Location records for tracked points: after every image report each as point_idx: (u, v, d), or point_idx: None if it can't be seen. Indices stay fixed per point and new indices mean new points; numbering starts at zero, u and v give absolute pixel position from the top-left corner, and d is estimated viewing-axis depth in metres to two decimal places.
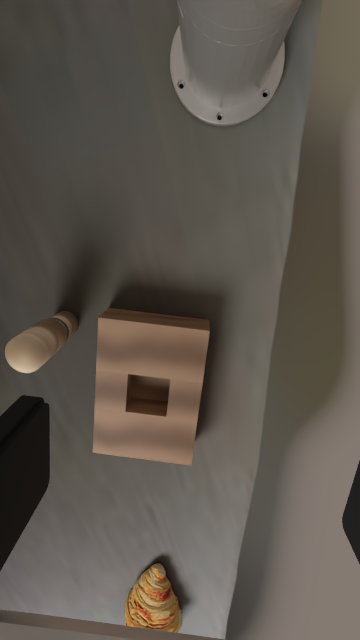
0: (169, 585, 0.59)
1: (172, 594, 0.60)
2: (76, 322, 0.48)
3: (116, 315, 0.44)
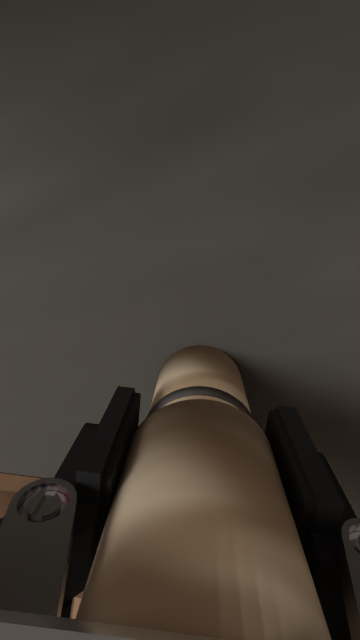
0: None
1: None
2: None
3: None
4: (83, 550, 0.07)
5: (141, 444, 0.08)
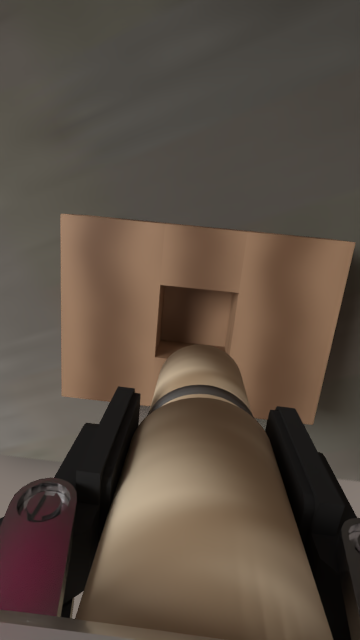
0: None
1: None
2: None
3: None
4: (83, 550, 0.07)
5: (141, 442, 0.08)
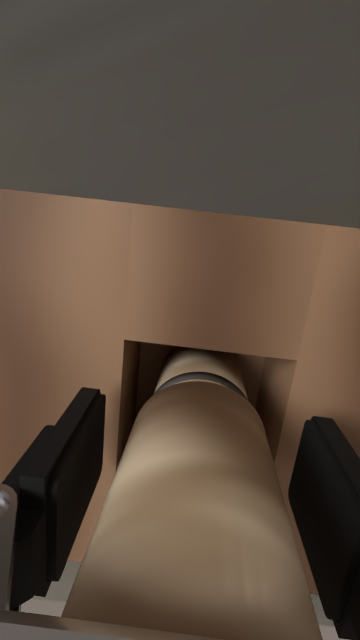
0: None
1: None
2: None
3: None
4: (25, 559, 0.06)
5: (144, 419, 0.09)
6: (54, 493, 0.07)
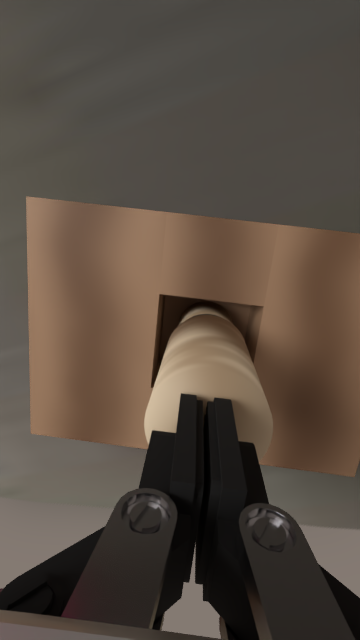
0: None
1: None
2: None
3: None
4: (181, 561, 0.07)
5: (177, 332, 0.16)
6: (199, 498, 0.07)
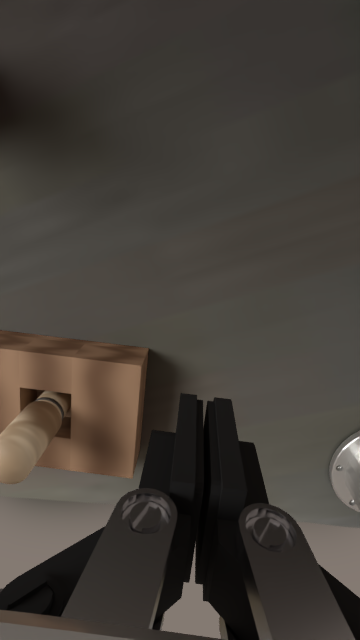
0: None
1: None
2: None
3: (142, 374, 0.37)
4: (181, 561, 0.07)
5: (21, 411, 0.34)
6: (199, 497, 0.07)
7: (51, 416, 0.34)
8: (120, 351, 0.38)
